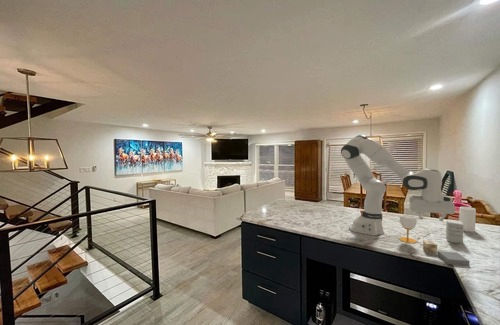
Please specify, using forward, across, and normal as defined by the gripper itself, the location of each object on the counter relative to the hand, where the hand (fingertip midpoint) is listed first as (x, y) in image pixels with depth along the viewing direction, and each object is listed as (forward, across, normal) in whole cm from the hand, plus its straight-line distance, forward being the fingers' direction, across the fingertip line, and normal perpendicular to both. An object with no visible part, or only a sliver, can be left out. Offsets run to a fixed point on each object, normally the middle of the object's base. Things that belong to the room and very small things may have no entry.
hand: (430, 219), depth 122 cm
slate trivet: (+19, +7, -9) cm, 22 cm away
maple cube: (+19, 0, 0) cm, 19 cm away
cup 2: (+19, +36, +49) cm, 64 cm away
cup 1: (+19, -8, +12) cm, 24 cm away
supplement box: (+19, +19, +22) cm, 35 cm away
